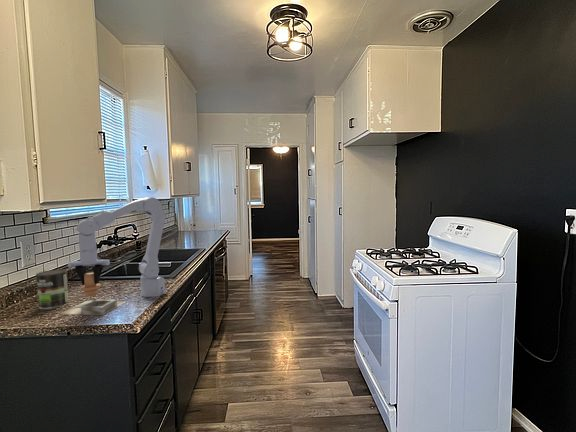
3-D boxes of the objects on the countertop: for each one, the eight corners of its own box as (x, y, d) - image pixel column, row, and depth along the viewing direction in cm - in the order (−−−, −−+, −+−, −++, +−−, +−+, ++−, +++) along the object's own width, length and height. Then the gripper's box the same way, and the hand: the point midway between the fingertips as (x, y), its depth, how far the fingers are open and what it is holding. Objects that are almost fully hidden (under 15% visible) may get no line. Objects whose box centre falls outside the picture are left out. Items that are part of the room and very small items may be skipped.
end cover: (105, 292, 130) (103, 272, 129) (90, 297, 123) (88, 276, 122) (92, 291, 132) (91, 271, 131) (77, 296, 125) (75, 275, 125)
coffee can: (56, 309, 129) (53, 275, 128) (32, 309, 129) (29, 275, 128) (74, 300, 139) (72, 268, 138) (52, 300, 140) (49, 269, 138)
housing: (126, 304, 133) (125, 295, 132) (103, 317, 119) (102, 308, 118) (86, 303, 135) (85, 295, 134) (59, 316, 121) (58, 307, 120)
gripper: (111, 247, 131) (114, 279, 132) (73, 249, 129) (76, 282, 130) (104, 250, 124) (107, 284, 125) (64, 252, 122) (66, 287, 123)
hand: (90, 283), depth 127 cm, fingers closed on end cover, 4 cm apart
